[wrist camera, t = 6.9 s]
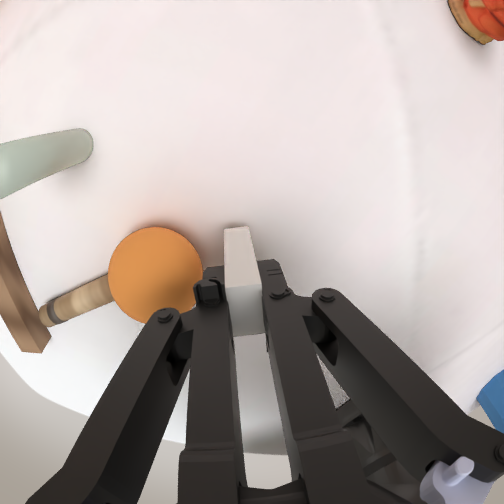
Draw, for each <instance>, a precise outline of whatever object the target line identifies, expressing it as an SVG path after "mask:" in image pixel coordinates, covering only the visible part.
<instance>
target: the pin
mask: <svg viewBox="0 0 504 504" xmlns="http://www.w3.org/2000/svg"><path fill="white" fill-rule="evenodd" d="M112 301H115V300H114V298H113V296H112V294H111V291H110V288H109V283H108V274H107V275H104V276H102V277H100V278H98V279H96V280H94V281H92V282H90V283H88V284H86V285H83V286H81V287H79V288H77V289H75V290H73V291H71V292H69V293H67V294H65V295H63V296H61V297H58V298H55V299H53V300H51V301H50V302H48V303H47V304H45V305H43V306H41V307H40V309H39V318H40V320H41V322H42V323H43V324H44V325H45V326H46V327H52V326H54V325H57V324H61V323H63V322H66V321H68V320H69V319H71V318H74V317H76V316H79V315H81V314H83V313H86V312H88V311H91V310H93V309H95V308H98V307H100V306H103V305H105V304H108V303H110V302H112Z"/></svg>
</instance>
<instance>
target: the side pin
mask: <svg viewBox="0 0 504 504" xmlns="http://www.w3.org/2000/svg"><path fill="white" fill-rule="evenodd" d="M92 149H93V140H92V137H91V135H90V133H89V132H88V131H86V130H84V129H80V128H79V129H72V130H65V131H59V132H53V133H48V134H42V135H37V136H32V137H28V138H23V139H19V140H14V141H10V142H6V143H2V144H0V199H2V198H4V197H6V196H8V195H10V194H12V193H14V192H16V191H18V190H20V189H22V188H24V187H26V186H28V185H30V184H32V183H35V182H37V181H39V180H41V179H43V178H45V177H48V176H50V175H52V174H55V173H57V172H59V171H62V170H64V169H66V168H69V167H71V166H74V165H76V164H79V163H81V162H84V161H85V160H87V159H88V158H89V156H90V155H91V153H92Z"/></svg>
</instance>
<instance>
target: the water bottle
mask: <svg viewBox="0 0 504 504" xmlns="http://www.w3.org/2000/svg"><path fill="white" fill-rule="evenodd" d="M476 399H477V400H478V402H479V403H480V405H481V406H482V408H483V409H484V411H485V412H486V414H487V416H488V417H489V419H490V420H491V422H492V424H493V426H494V427H495V429H496V430H498V431H500V432H502V433H504V370H503V371H501V372H500V373H498V374H497V375H495V376H494V377H493V378H492V379H491V380H490V381H489V382H488V383H487V384H486V385H485V387H484V388H483V389H482V390H481V392H480V393H479V395H478V396H477V398H476Z"/></svg>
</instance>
